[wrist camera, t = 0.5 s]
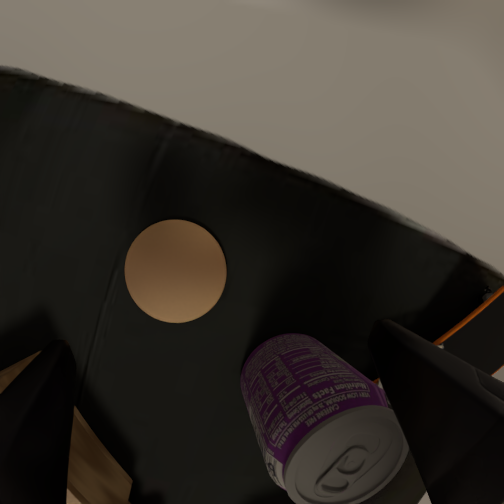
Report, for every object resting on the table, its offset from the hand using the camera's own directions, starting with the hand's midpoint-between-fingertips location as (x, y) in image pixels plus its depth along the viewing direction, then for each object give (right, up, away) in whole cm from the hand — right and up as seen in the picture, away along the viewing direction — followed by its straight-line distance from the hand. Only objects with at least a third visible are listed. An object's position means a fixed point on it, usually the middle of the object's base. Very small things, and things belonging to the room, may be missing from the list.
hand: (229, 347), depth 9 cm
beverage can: (+3, -7, +15) cm, 17 cm away
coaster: (-5, +1, +13) cm, 14 cm away
